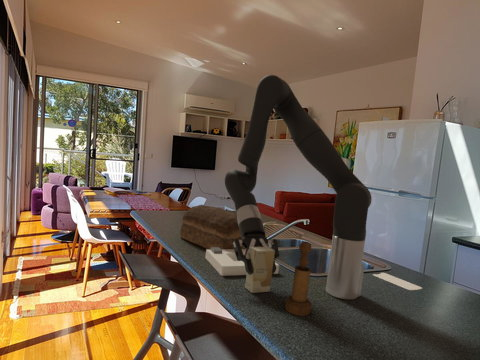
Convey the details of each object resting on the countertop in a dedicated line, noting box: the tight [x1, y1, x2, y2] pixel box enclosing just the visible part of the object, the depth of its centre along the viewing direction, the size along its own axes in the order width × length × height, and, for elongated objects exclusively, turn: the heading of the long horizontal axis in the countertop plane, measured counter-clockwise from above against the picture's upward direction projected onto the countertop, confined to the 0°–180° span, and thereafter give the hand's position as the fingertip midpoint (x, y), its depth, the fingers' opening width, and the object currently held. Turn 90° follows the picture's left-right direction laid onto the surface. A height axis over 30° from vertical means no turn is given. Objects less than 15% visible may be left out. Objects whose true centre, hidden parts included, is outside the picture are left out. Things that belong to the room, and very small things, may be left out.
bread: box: [179, 204, 246, 250], centre depth 148 cm, size 15×32×16 cm, turn 43°
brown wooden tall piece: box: [284, 241, 312, 317], centre depth 93 cm, size 7×6×18 cm
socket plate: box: [204, 247, 280, 277], centre depth 125 cm, size 20×18×4 cm
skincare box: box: [244, 246, 275, 294], centre depth 104 cm, size 6×4×12 cm
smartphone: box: [371, 271, 424, 292], centre depth 126 cm, size 8×1×16 cm
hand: (262, 272), depth 103 cm, fingers closed on skincare box, 6 cm apart
